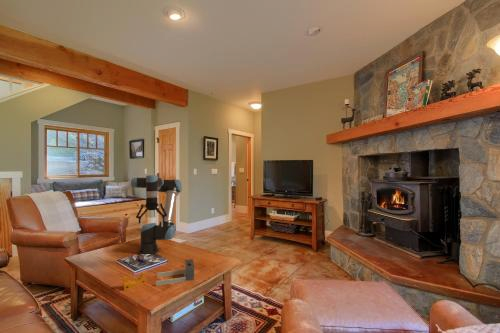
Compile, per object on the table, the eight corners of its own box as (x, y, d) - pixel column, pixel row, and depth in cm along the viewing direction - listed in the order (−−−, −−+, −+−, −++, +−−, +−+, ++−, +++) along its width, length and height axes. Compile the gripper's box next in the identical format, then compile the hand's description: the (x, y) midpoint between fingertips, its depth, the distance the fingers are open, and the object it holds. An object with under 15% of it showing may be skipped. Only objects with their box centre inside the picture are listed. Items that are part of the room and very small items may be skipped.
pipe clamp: (124, 290, 136) (124, 279, 136) (123, 287, 139) (123, 276, 139) (146, 284, 143) (146, 274, 143) (145, 282, 146) (145, 271, 146)
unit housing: (185, 273, 157) (185, 258, 157) (193, 272, 159) (193, 257, 159) (185, 280, 147) (185, 265, 147) (194, 279, 148) (194, 264, 149)
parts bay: (157, 276, 153) (157, 272, 153) (184, 273, 158) (184, 269, 158) (155, 285, 141) (155, 281, 141) (185, 281, 146) (185, 277, 146)
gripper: (131, 198, 160) (131, 229, 159) (170, 196, 167) (170, 226, 167) (133, 197, 167) (133, 227, 166) (170, 195, 174) (170, 224, 174)
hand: (151, 227), depth 167 cm, fingers open, 13 cm apart
